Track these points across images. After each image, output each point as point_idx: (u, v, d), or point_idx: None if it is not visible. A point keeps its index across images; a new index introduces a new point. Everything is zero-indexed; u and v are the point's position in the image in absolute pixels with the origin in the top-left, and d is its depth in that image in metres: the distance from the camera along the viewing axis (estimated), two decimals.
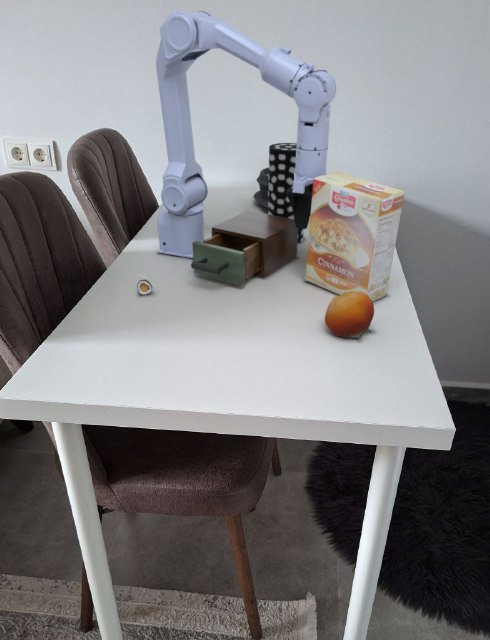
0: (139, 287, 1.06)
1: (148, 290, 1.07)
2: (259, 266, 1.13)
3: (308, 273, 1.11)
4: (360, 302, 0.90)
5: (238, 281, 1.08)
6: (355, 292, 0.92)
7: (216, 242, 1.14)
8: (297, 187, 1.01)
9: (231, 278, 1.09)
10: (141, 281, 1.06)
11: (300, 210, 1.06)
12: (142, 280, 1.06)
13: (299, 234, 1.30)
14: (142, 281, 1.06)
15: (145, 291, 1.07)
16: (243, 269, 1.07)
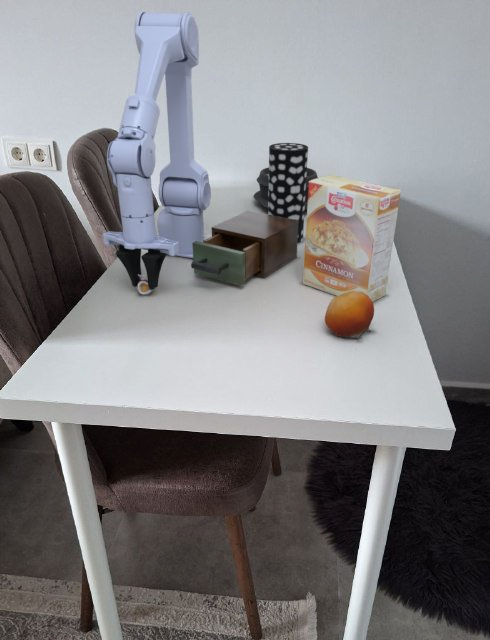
0: (139, 287, 1.06)
1: (148, 290, 1.07)
2: (259, 266, 1.13)
3: (306, 277, 1.10)
4: (360, 302, 0.90)
5: (238, 281, 1.08)
6: (355, 292, 0.92)
7: (216, 242, 1.14)
8: None
9: (231, 278, 1.09)
10: (141, 281, 1.06)
11: None
12: (142, 280, 1.06)
13: (299, 234, 1.30)
14: (142, 281, 1.06)
15: (145, 291, 1.07)
16: (243, 269, 1.07)
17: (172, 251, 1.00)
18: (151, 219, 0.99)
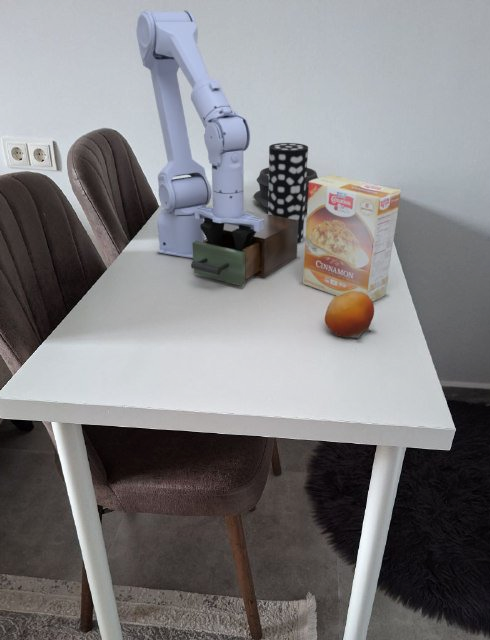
0: None
1: None
2: (259, 266, 1.13)
3: (306, 277, 1.10)
4: (360, 302, 0.90)
5: (238, 281, 1.08)
6: (355, 292, 0.92)
7: None
8: None
9: (231, 278, 1.09)
10: None
11: None
12: None
13: (299, 234, 1.30)
14: None
15: None
16: (243, 269, 1.07)
17: (257, 227, 1.04)
18: (240, 195, 1.04)
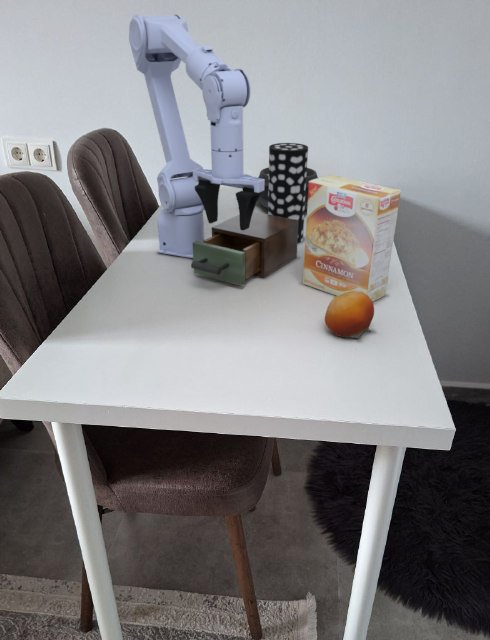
0: None
1: None
2: (259, 266, 1.13)
3: (306, 277, 1.10)
4: (360, 302, 0.90)
5: (238, 281, 1.09)
6: (355, 292, 0.92)
7: (216, 242, 1.14)
8: None
9: (231, 278, 1.09)
10: None
11: None
12: None
13: (299, 234, 1.30)
14: None
15: None
16: (243, 269, 1.07)
17: (257, 188, 1.00)
18: (240, 154, 1.00)
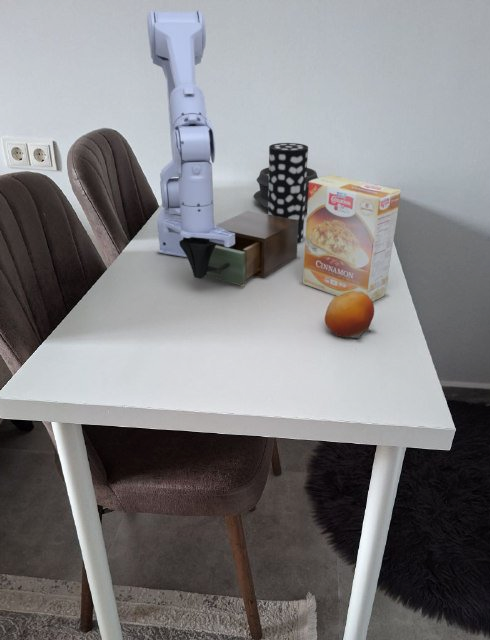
0: None
1: None
2: (259, 266, 1.14)
3: (306, 277, 1.10)
4: (360, 302, 0.90)
5: (238, 281, 1.09)
6: (355, 292, 0.92)
7: None
8: None
9: (231, 278, 1.09)
10: None
11: None
12: None
13: (299, 234, 1.30)
14: None
15: None
16: (243, 269, 1.07)
17: (227, 242, 0.98)
18: (209, 208, 0.97)
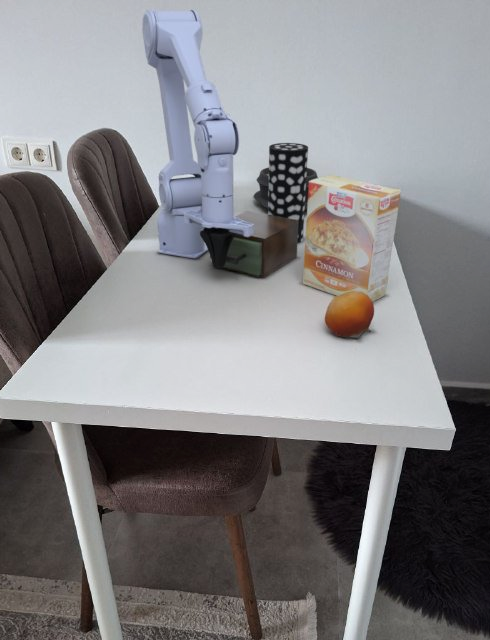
0: None
1: None
2: None
3: (306, 277, 1.10)
4: (360, 302, 0.90)
5: (255, 271, 1.13)
6: (355, 292, 0.92)
7: None
8: None
9: (248, 268, 1.13)
10: None
11: None
12: None
13: (299, 234, 1.30)
14: None
15: None
16: (260, 259, 1.11)
17: (246, 232, 1.02)
18: (230, 200, 1.02)
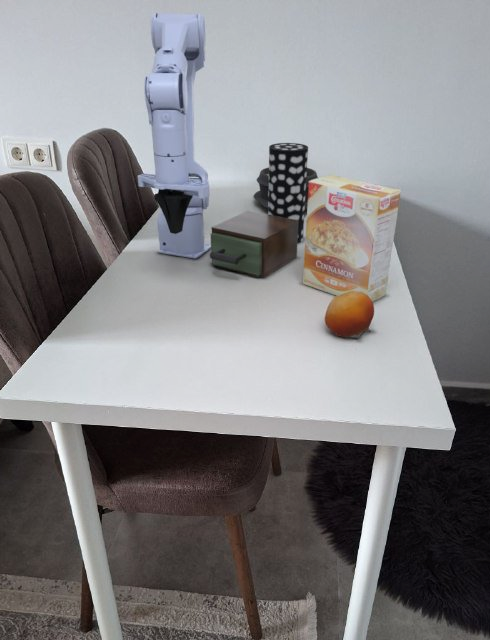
0: None
1: None
2: None
3: (306, 277, 1.10)
4: (360, 302, 0.90)
5: (255, 271, 1.13)
6: (355, 292, 0.92)
7: None
8: None
9: (248, 268, 1.13)
10: None
11: None
12: None
13: (299, 234, 1.30)
14: None
15: None
16: (260, 259, 1.11)
17: (201, 193, 0.97)
18: (183, 159, 0.97)
